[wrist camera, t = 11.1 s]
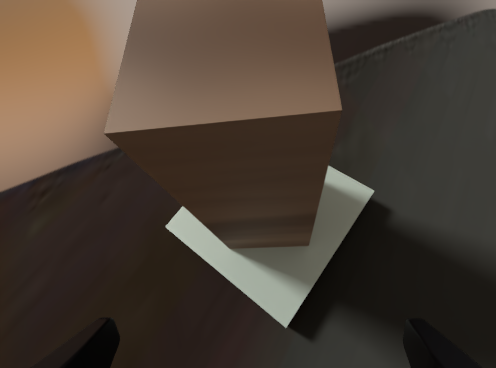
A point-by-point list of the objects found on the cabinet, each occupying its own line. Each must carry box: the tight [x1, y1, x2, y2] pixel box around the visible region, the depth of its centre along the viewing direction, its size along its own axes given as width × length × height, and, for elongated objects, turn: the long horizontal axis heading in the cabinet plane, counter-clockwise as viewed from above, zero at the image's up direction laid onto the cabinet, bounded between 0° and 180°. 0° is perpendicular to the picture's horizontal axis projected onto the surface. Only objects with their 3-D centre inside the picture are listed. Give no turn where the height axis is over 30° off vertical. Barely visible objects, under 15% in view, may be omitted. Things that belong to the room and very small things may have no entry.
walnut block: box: [104, 0, 342, 249], centre depth 13 cm, size 5×5×13 cm
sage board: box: [166, 166, 374, 327], centre depth 19 cm, size 10×10×2 cm
